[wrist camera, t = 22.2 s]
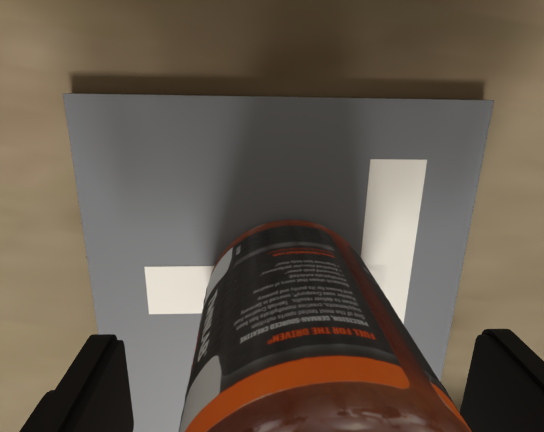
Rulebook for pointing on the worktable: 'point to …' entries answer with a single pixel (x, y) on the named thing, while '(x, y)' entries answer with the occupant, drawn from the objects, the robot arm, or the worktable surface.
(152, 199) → the board
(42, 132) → the worktable surface
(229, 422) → the supplement bottle
